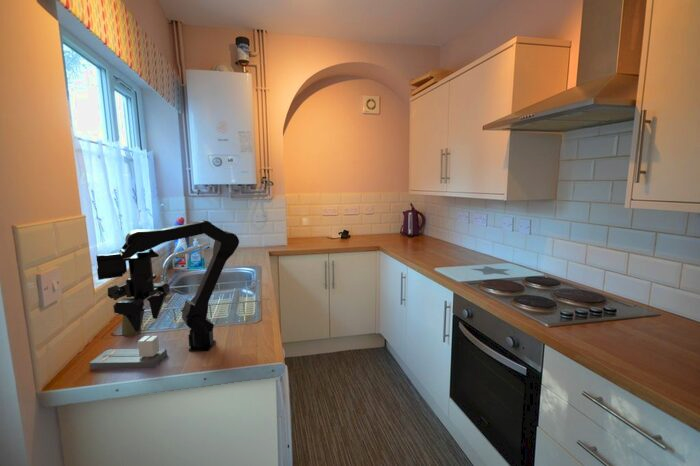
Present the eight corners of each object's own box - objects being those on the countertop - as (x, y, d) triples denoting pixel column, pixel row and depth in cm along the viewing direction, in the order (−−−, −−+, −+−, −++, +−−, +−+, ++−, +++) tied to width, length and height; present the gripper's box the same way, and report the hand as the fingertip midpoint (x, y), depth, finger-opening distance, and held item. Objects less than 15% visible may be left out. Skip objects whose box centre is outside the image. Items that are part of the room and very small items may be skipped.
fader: (159, 350, 106) (157, 335, 105) (153, 356, 102) (151, 340, 101) (146, 350, 106) (144, 335, 105) (139, 356, 102) (137, 340, 101)
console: (167, 354, 108) (166, 348, 108) (153, 368, 100) (152, 361, 100) (108, 355, 108) (107, 349, 108) (90, 369, 100) (89, 362, 100)
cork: (137, 327, 129) (134, 298, 127) (144, 331, 125) (141, 302, 123) (119, 332, 124) (115, 303, 123) (125, 337, 121) (122, 307, 119)
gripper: (133, 266, 109) (138, 313, 112) (89, 283, 91) (97, 339, 93) (168, 265, 110) (172, 312, 112) (132, 283, 91) (138, 338, 94)
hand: (146, 324), depth 103 cm, fingers open, 9 cm apart
